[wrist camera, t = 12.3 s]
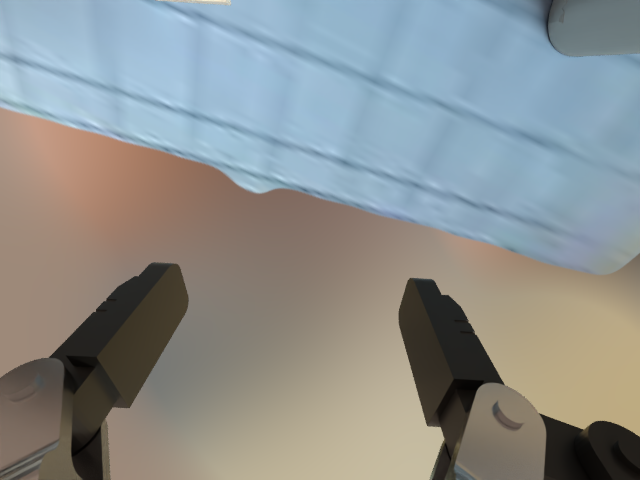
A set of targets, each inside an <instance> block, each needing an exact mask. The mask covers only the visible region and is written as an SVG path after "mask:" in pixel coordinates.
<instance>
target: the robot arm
mask: <svg viewBox="0 0 640 480" xmlns="http://www.w3.org/2000/svg"><path fill="white" fill-rule="evenodd" d="M548 32H549V37H550V40H551V43H552V44H553V46H554V47H555V49H556V50H558V51H559V52H560V53H561V54H564V55H567V56H572V57H583V56H601V55H622V54H639V53H640V0H553V3H552V6H551V9H550V13H549V20H548ZM187 307H188V294H187V290H186V287H185V283H184V280H183V276H182V273H181V269H180V267H179V265H178V264H172V263H155V262H154V263H151V264H150V265H149V266H148V267H147V268H146V269H145V270H144V271H143V272H142V273H141V274H140V275H139V276H135V277H133V278H131V279H130V280H128V281H126V282H125V283H123V284H122V285H120V286H119V287H117V288H116V289H115V291H114V292H113V293H112V294H111V295H110V296H109V297H108V298H107V300H106V301H104V302H103V303H102V304H101V305H100V306H99V307H98V308H97V309H96V312H93V313H92V314H91V315H90V316H89V317H88V318H87V319H86V320H85V321H84V322H83V323H82V324H81V325H80V326H79V328H77V329H76V331H75V332H74V333H73V334H72V335H71V336H70V337H69V338H68V339H67V340H66V341H65V342H64V343H63V344H62V345H61V346H60V347H59V348H58V349H57V350H56V351H55V352H54V353H53V354H52V355H51V356H50V357H49V358H41V359H37V360H34V361H30V362H28V363H25V364H23V365H20V366H18V367H17V368H14V369H13V370H11V371H9V372H8V373H6V374H5V375H3V376H2V377H1V378H0V480H111V478H110V459H109V443H108V425H107V421H106V419H105V418H106V416H107V415H108V413H109V412H110V410H111V409H112V407H118V408H130V406H131V405H132V403H133V401H134V399H135V398H136V396H137V394H138V393H139V391H140V389H141V388H142V386H143V384H144V383H145V381H146V379H147V377H148V376H149V374H150V372H151V371H152V369H153V367H154V366H155V364H156V362H157V360H158V359H159V357H160V355H161V354H162V352H163V350H164V348H165V347H166V345H167V344H168V342H169V340H170V339H171V337H172V335H173V333H174V331H175V330H176V328H177V327H178V325H179V323H180V322H181V320H182V318H183V317H184V315H185V313H186V311H187ZM399 326H400V330H401V334H402V337H403V341H404V344H405V348H406V352H407V355H408V359H409V362H410V365H411V370H412V373H413V377H414V380H415V384H416V388H417V391H418V395H419V398H420V402H421V405H422V409H423V413H424V417H425V420H426V424H427V426H433V427H441V429H442V432H443V435H444V441H443V443H442V445H441V448H440V451H439V454H438V456H437V459H436V462H435V465H434V468H433V471H432V473H431V476H430V480H640V437H639V436H638V435H636V434H635V433H633V432H631V431H630V430H628V429H626V428H624V427H622V426H620V425H617V424H614V423H611V422H607V421H596V422H594V423H592V424H591V425H589V426H588V427H587V428H586V429H584V430H583V429H580V428H577V427H574V426H572V425H569V424H566V423H564V422H561V421H558V420H555V419H553V418H550V417H547V416H545V415H542V414H540V413H538V412H537V410H536V409H535V407H534V406H533V405H532V404H531V403H530V402H529V401H528V400H527V399H526V398H525V397H524V396H522V395H521V394H520V393H518V392H517V391H515V390H514V389H512V388H510V387H508V386H505V385H504V383H503V381H502V380H501V378H500V376H499V374H498V372H497V371H496V369H495V367H494V365H493V363H492V362H491V360H490V358H489V356H488V355H487V353H486V351H485V349H484V347H483V346H482V344H481V342H480V340H479V339H478V337H477V335H475V331H474V330H473V328H472V326H471V324H470V323H468V319H467V317H466V315H465V313H464V312H463V310H462V308H461V307H460V306H459V305H458V304H457V303H456V302H455V301H454V300H453V299H452V298H451V297H450V296H449V295H441V293H440V291H439V289H438V287H437V285H436V283H435V281H434V280H432V279H419V278H410V279H409V280H408V282H407V285H406V288H405V292H404V295H403V298H402V302H401V305H400V309H399Z"/></svg>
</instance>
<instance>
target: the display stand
mask: <svg viewBox="0 0 640 480" xmlns="http://www.w3.org/2000/svg"><path fill="white" fill-rule="evenodd" d="M155 1H170V2H186V3H202V4H218V5H231V1H230V0H155Z"/></svg>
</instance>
